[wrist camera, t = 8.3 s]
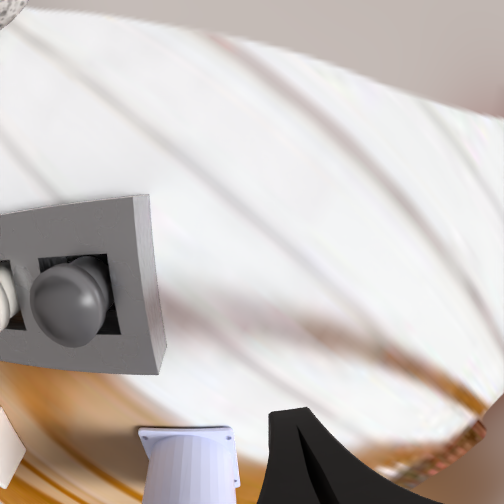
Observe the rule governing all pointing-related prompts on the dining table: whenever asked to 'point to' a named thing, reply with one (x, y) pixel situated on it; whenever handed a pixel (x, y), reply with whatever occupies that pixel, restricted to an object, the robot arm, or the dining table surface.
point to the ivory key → (7, 295)
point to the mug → (10, 10)
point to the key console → (121, 273)
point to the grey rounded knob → (72, 300)
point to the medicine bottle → (9, 450)
